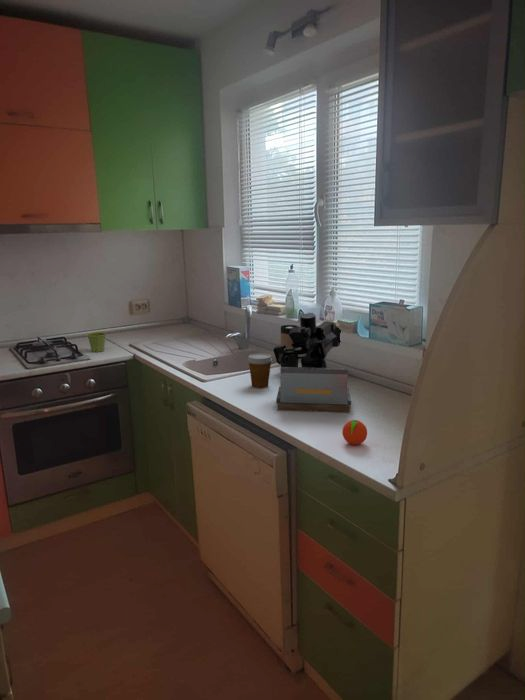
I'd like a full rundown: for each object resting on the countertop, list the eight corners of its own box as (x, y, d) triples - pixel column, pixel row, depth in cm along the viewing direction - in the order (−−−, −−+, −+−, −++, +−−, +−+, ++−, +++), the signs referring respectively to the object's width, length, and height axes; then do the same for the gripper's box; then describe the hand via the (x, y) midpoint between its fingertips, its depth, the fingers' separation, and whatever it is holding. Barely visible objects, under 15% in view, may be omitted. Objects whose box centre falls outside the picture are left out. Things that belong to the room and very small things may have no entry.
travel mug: (277, 371, 221) (277, 325, 216) (292, 369, 224) (292, 324, 220) (286, 376, 214) (286, 328, 210) (301, 373, 218) (302, 327, 213)
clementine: (363, 452, 141) (364, 427, 140) (338, 448, 144) (339, 424, 142) (368, 441, 149) (369, 417, 147) (345, 437, 151) (345, 414, 150)
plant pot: (92, 354, 255) (90, 336, 253) (85, 350, 262) (83, 334, 260) (110, 351, 261) (109, 334, 259) (103, 348, 268) (101, 331, 266)
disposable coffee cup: (244, 383, 204) (244, 354, 202) (267, 381, 207) (267, 352, 205) (252, 390, 196) (251, 360, 193) (275, 388, 199) (275, 357, 196)
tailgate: (280, 401, 175) (280, 366, 172) (346, 403, 172) (347, 368, 170) (280, 402, 173) (280, 368, 171) (346, 404, 171) (347, 369, 168)
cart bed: (279, 397, 188) (279, 386, 187) (348, 399, 185) (348, 388, 184) (276, 410, 174) (276, 398, 173) (350, 412, 172) (351, 401, 171)
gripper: (277, 327, 190) (260, 343, 177) (325, 320, 181) (311, 336, 168) (285, 355, 193) (269, 372, 180) (332, 349, 185) (319, 367, 172)
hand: (291, 361), depth 175 cm, fingers open, 9 cm apart
